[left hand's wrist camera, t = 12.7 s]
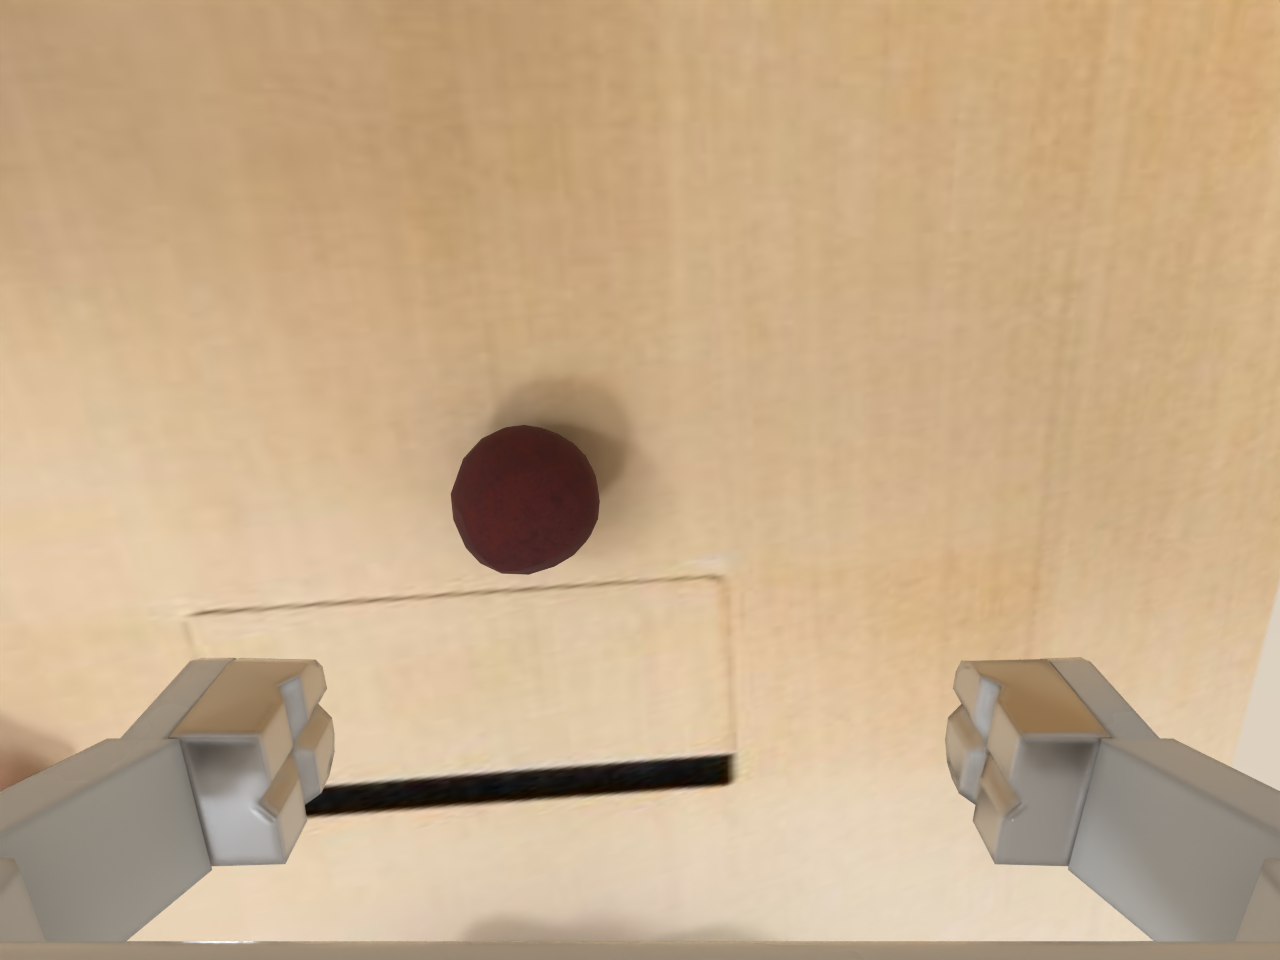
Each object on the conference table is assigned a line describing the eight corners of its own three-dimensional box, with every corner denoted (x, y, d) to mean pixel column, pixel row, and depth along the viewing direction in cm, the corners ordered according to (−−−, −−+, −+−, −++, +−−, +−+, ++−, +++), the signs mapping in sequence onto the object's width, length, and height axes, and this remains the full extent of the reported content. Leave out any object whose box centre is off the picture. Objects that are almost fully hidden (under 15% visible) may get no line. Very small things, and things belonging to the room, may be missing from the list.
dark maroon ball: (627, 493, 45) (625, 551, 39) (511, 558, 47) (491, 624, 40) (554, 383, 43) (538, 424, 36) (435, 455, 44) (399, 507, 38)
